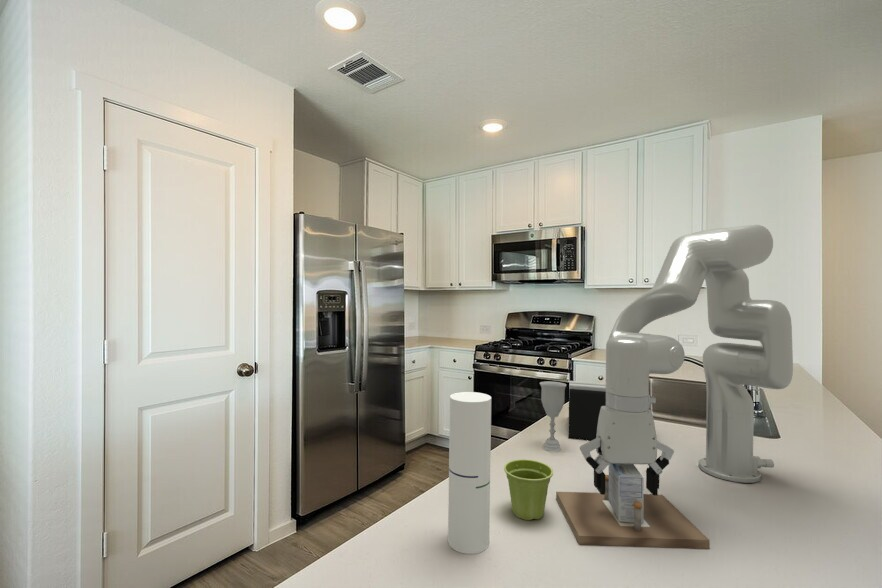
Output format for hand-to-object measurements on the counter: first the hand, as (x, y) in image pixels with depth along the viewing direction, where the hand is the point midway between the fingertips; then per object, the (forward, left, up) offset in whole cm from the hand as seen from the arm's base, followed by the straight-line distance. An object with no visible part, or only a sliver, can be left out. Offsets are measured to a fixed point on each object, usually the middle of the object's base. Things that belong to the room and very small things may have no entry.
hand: (626, 491), depth 79 cm
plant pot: (+18, -2, -6) cm, 19 cm away
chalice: (+5, -37, -6) cm, 38 cm away
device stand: (-15, -53, -6) cm, 55 cm away
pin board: (0, 0, -6) cm, 6 cm away
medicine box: (0, 0, -4) cm, 4 cm away
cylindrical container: (+30, +8, -6) cm, 32 cm away
